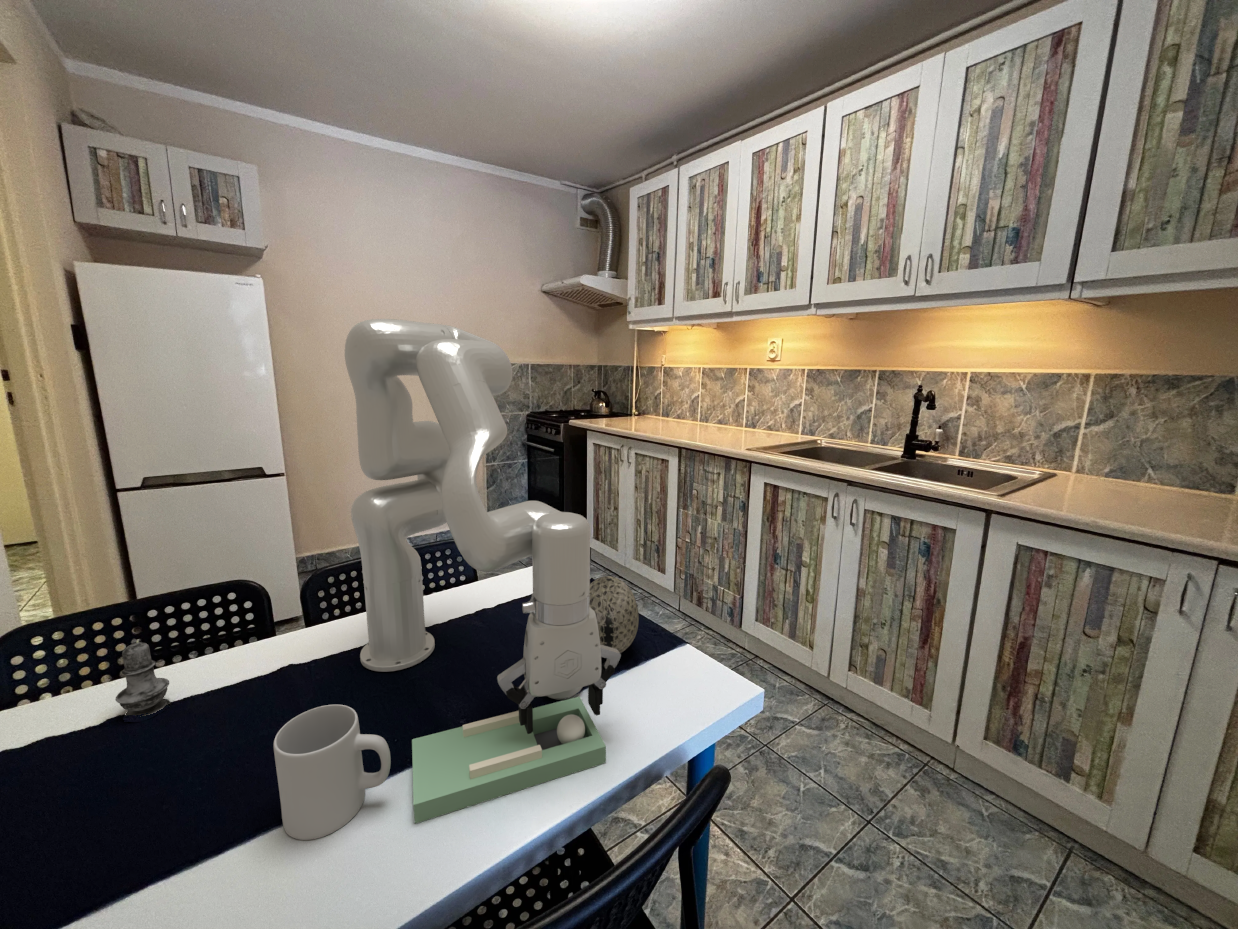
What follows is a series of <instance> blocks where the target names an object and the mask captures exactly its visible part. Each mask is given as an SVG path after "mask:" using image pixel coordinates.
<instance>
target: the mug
mask: <svg viewBox="0 0 1238 929" xmlns="http://www.w3.org/2000/svg"><path fill="white" fill-rule="evenodd" d="M364 750H373V751H375V752H376V753H377V754H378V757H379V760H380V769H379V771H376V772H367V771H365V770H364V765H363V764H364V763H363V754H362V751H364ZM273 753H274V761H275V767H276V768H275V769H276V776H277V783H278V784H277V786H278V791H279V799H280V800H279V801H280V809H281V810H280V811H281V819H282V826H283V829H284V831H285V833H286V834H287V835H288V836H290V837H291V838H293V839H296V840H299V841H309V840H310V841H311V840H316V839H321V838H323V837H326V836H328V835H330V834H332V833H335V832H336V831H338V830H340V829H342V827H344V826H345V825H347V824H348V823H349V822H350V821H351V820H352V819H353V818H355V817H356V815H357V814H358V813H359V811H360V809H361V808H362V806H363V804H364V801H365V799H366V798H365V797H366V789H367V790H368V789H372V788H377V787H380V785H382V784H384V783H385V781H387V779H388V776H389V774H390V769H391V764H392V763H391V762H392V761H391V759H392V758H391V751H390V748H389V744H388V743H387V741H386V739H385V738H384V737H382V736H381V735H378V734H370V733H369V734H367V733H365V734H363V733H361V730H360V723H359V717H358V713H357V712H356V710H355V709H354V708H352V707H350V706H348V705H345V704H344V705H343V704H328V705H321V706H317V707H314V708H311V709H308V710H307V711H304V712H302V713H300V714H298V715H296V716H295V717H293V718H291V719H290V720H288V721H287V722H286V723H285V724H284V725H283V726H282V727H281V728H280V729H279V730H278V731H277V733H276V735H275V738H274V740H273Z"/></svg>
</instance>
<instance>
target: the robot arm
mask: <svg viewBox="0 0 1238 929" xmlns="http://www.w3.org/2000/svg"><path fill="white" fill-rule="evenodd" d="M344 361H345V365H346V371H347V373H348V377H349V379H350V383H351V386H352V390H353V393H354V397H355V406H356V410H355V411H356V412H355V413H356V429H357V430H356V432H357V446H358V448H357V449H358V461H359V465H360V469H361V471H362V472H363V474H364V476H366V478H368V479H371V480H375V481H390V480H396V479H402V478H403V479H404V478H408V477H415V476H417V477H416V478H417V479H416V480H410V481H406V482H398V483H394V484H389V485H384V486H378V487H374V488H372V489H369V490H366V491H364V492H362V493H361V494H360V495H358V496H357V497H356V498H355V499H354V501H353V503H352V505H351V507H350V517H351V521H352V526H353V528H354V533H355V536H356V539H357V543H358V547H359V554H360V558H361V566H362V567H361V568H362V579H363V587H364V588H363V589H364V600H365V610H366V612H365V615H366V624H367V635H368V637H367V638H368V642H367V644H365V645H364V646H363V647H362V649H361V650H360V654H359V658H360V659H359V660H360V663H361V665H362V666H363V667H364V668H366V669H368V670H371V671H374V672H381V673H384V672H386V673H387V672H396V671H401V670H404V669H407V668H410V667H411V668H412V667H414V666H416V665H417V664H420V663H421V662H422V661H424V660H426V659H427V658H428V657H429V656H431V654H432V653H433V652H434V650H435V645H436V644H435V638H434V636H433V635H432V634H431V633H430V632H428V631H427V630H426V620H425V604H424V589H423V587H424V586H423V574H422V573H423V572H422V561H421V557H420V555H419V553H418V551H417V550H416V549H415V548H414V547H413V546H412V545H411V544H410V543H409V542H408V540H407V539H408V538H409V537H410V536H413V535H416V534H419V533H422V532H425V531H428V530H431V529H436V528H438V527H441V526H444V525H445V524H447V526H448V528H449V531H450V534H451V535H452V539H453V541H454V543H455V546H456V548H457V549H458V551H459V552H460V555H462V558H463V560H465V562H466V563H467V564H468V565H469V566H471V568H473V569H475V570H477V571H479V572H482V573H483V572H486V573H489V572H495V571H497V570H498V571H499V570H500V569H503V568H505V567H507V566H510V565H512V564H515V563H516V562H519V561H522V560H524V559H526V558H532V592H531V598H530V600H528V601H527V602H522V604H521V609H522V613H523V614H529V615H528V617H527V624H526V628H525V632H524V633H525V634H524V643H523V644H524V645H523V655H522V656H523V657H522V658H521V659H520V660H518V661H517V662H515V663H514V664H513V665H511V666H509V667H508V668H507V669H505V670H504V671H502V672H501V673H499V674H498V675H497V677H496V680H497V683H498V685H499V687H500V689H501V690H502V691H503V694H505V695H506V698H507V699H509V700H510V701H512V702H514V703H515V704H516V705H518V711H519V722H520V725H521V726H522V725H525V728H526V731H527V734H531V733H532V732H533V709H532V708H533V706H532V705H533V704H532V703H531V702H532V701H533V700H534V698H536V697H537V698H539V697H548V696H547V695H552V694H556V693H560V692H564V691H568V690H572V689H576V688H580V687H582V688H583V687H587V694H588V695H587V702H588V705H589V707H590V710H591V711H592V713H593V714H594V716H599V715H600V714H601V705H603V703H604V702H603V701H604V700H603V699H604V698H603V697H604V696H603V695H604V694H603V693H604V689H605V688H606V687H607V682H608V681H609V679H610V678H611V677H612V676H613V674H614V673H615V671H616V667H617V666H618V664H619V661H620V659H621V657H622V653H619V651H618V650H617V649H614V648H611V647H608V646H604V645H601V644H600V638H599V630H598V624H597V618H596V614H595V612H594V611H593V610H592V609H591V608H590V607H589V599H590V584H591V578H590V577H591V527H590V523H589V521H588V519H587V518H586V517H584V515H581V514H578V513H574V512H569V511H560V510H558V509H557V508H554V507H553V506H550V505H548V504H547V503H545V502H542V501H539V500H526V501H522V502H520V503H516V504H512V505H507V506H504V507H500V508H496V509H494V510H490V511H487V510H486V507H485V505H484V503H483V500H482V498H481V495H480V493H479V488H478V481H477V479H478V478H477V476H478V475H477V474H478V468H479V465H480V462H481V461H482V459H483V457H484V456H485V455H487V454H488V453H490V452H491V451H492V450H494V449H495V448H497V447H498V446H499V445H500V444H502V443H503V441H504V439H505V438H506V437H507V434H508V428H507V425H506V421H505V420H504V418H503V415H502V414H501V411H500V409H499V406H498V404H497V402H496V400H495V398H494V396H498V395H501V394H503V393H505V392H507V390H508V389H509V388H510V385H511V384H512V380H513V366H512V363H511V362H512V361H511V360H510V357H509V356H508V354H507V353H506V352H505V350H504V349H503V348H502V347H501V346H500V345H498V344H497V343H495V342H493V341H491V340H489V339H486V338H484V337H481V336H478V335H476V334H473V333H471V332H469V331H466V330H464V329H462V328H459V327H456V326H451V325H447V324H442V323H441V324H440V323H430V322H421V321H414V320H406V319H404V320H403V319H394V318H393V319H392V318H372V319H366V320H362V321H360V322H358V323H357V324H355V325H354V326H353V327H352V328H351V329H350V330H349V331H348V333H347V336H346V339H345V344H344ZM398 376H417V377H418V378H419V381H420V383H421V385H422V388H423V390H424V392H425V394H426V398H427V400H428V402H429V403H430V407H431V409H432V410H433V413H434V416H435V418H436V419H437V420H436V421H437V422H436V421H431V420H430V421H429V420H422V421H414V418H413V416H414V415H413V400H412V396H411V394H410V392H409V390H408V388H407V387H406V385H405V384H404V383H403V381H402V380H401V379H400V377H398ZM602 658H604V659H606V661H604V663H602ZM522 675H523V677H524V680H523V681H522V683H521V684H520V685H519V686H516V685H515V684H513V681H515V680H516V679H518V678H519V677H521V676H522Z"/></svg>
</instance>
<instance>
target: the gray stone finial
mask: <svg viewBox="0 0 1238 929" xmlns="http://www.w3.org/2000/svg"><path fill="white" fill-rule="evenodd" d="M130 643H131V644H130V645H128V646H127V647H125V648H124V649H123V651H122V652H121V653H122V654H121V656H122V660H123V661H122V662H123V666H124V668H123V669H122V671H121V674H122V675H124V676H125V681H126V688H123V689H122V690H121V691H119V692H118V693H117V695H116V697H115V702H116V703H118V704H119V705H120V706H121V707H122V708H123V710H124V711H125V710H126V712H127V713H126V712H125V713H126V716H127V715H135V716H136V715H141V714H144V715H142V716H146V715H150V714H153V713H156V712H157V711H159V710H161V709H163V708H164V707H165V706H166V705H168V704H170V705H171V701H170V699H167V698H165V697H166V694H167V692H168V686H169V685H170V680H169V679H168V678H165V677H157V675H156V674H155V669H154V666H155V665H156V661H155V660H153V659H152V656H151V649H150V646H149V644H147V643H146V642H138V639H136V638H132V639H131V641H130ZM146 713H148V714H146ZM140 717H141V716H140Z"/></svg>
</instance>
